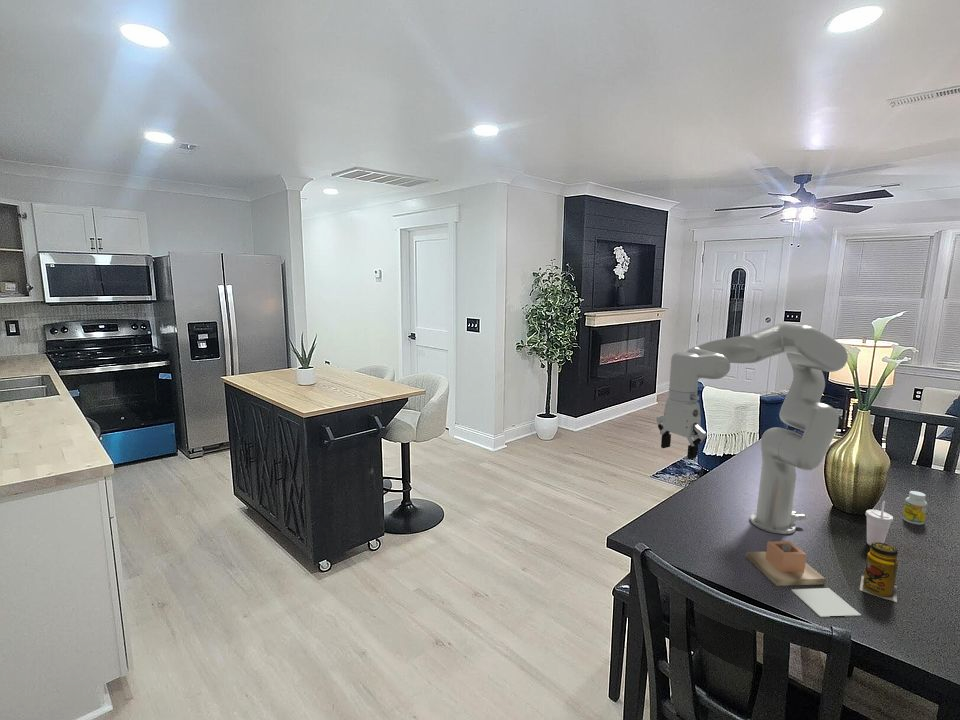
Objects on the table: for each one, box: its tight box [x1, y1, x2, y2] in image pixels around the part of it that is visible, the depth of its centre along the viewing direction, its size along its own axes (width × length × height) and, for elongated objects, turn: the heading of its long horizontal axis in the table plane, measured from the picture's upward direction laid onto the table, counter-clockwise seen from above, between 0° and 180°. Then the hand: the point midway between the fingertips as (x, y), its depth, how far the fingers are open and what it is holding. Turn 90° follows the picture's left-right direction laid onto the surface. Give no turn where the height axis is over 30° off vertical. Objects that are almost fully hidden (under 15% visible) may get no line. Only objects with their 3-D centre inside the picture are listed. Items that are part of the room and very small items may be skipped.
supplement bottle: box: [902, 490, 928, 526], centre depth 161 cm, size 5×5×10 cm
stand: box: [745, 544, 826, 587], centre depth 134 cm, size 13×13×7 cm
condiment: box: [859, 542, 899, 603], centre depth 126 cm, size 7×8×12 cm
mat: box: [790, 587, 862, 618], centre depth 121 cm, size 10×10×1 cm
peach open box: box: [765, 540, 807, 572], centre depth 133 cm, size 6×6×5 cm
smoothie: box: [865, 500, 894, 547], centre depth 146 cm, size 6×6×14 cm
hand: (678, 452), depth 145 cm, fingers open, 9 cm apart
